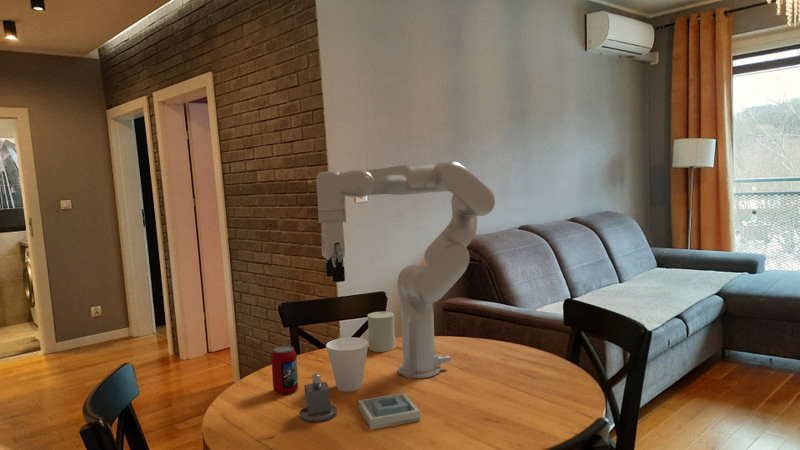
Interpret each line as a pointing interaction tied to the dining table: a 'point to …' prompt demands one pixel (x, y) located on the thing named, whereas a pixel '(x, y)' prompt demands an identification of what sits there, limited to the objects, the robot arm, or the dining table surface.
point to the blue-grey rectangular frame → (388, 405)
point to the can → (381, 331)
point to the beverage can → (284, 370)
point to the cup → (348, 362)
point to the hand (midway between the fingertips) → (335, 278)
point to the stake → (317, 402)
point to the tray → (388, 420)
